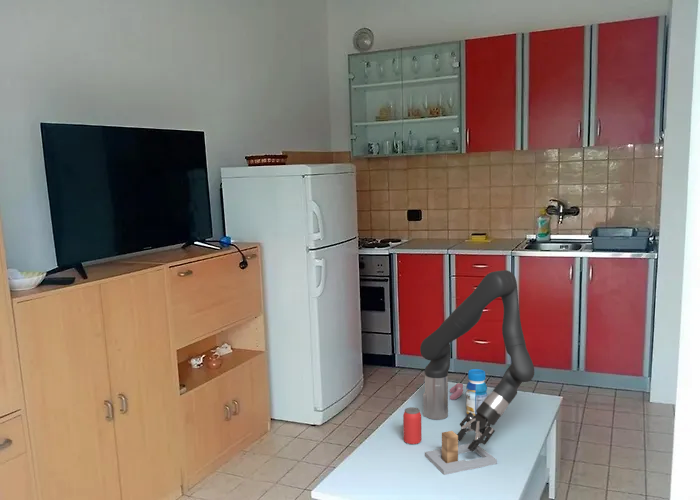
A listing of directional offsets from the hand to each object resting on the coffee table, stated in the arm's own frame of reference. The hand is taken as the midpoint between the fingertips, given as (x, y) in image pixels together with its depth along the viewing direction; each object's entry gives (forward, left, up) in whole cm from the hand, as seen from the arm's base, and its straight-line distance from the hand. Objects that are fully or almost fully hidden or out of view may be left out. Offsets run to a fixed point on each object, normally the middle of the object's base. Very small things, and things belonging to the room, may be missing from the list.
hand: (463, 444), depth 198 cm
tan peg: (-4, -4, -5) cm, 7 cm away
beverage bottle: (-4, +34, -5) cm, 35 cm away
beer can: (-21, +6, -5) cm, 22 cm away
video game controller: (-18, +56, -6) cm, 59 cm away
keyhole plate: (-1, -1, -5) cm, 5 cm away
